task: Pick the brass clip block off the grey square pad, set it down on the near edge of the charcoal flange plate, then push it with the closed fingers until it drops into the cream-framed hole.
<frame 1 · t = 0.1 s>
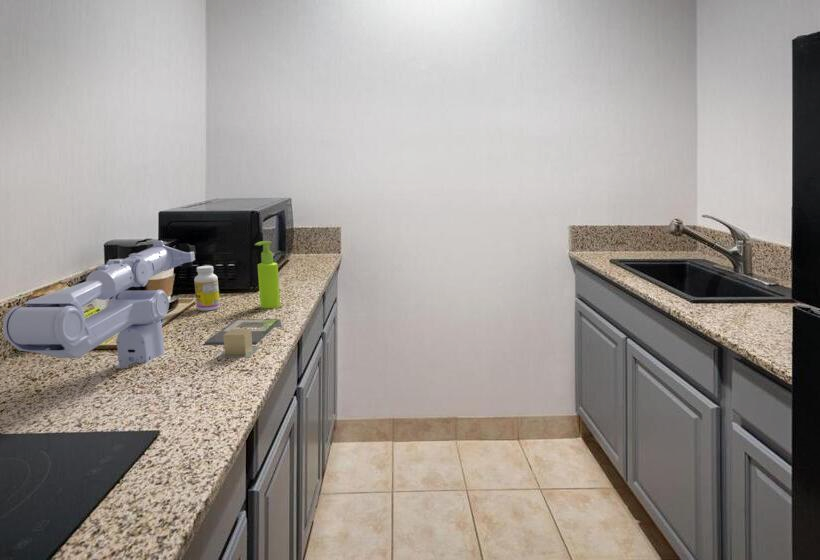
hand: (178, 250, 134), 22 cm above the countertop, tool horizontal, fingers open, 7 cm apart
supplement bottle: (208, 309, 166), on the countertop
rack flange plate: (246, 337, 135), on the countertop
soap dispenser: (269, 307, 167), on the countertop
grey square pad: (239, 358, 119), on the countertop
clip block: (239, 352, 119), point 1 cm above the countertop, touching grey square pad
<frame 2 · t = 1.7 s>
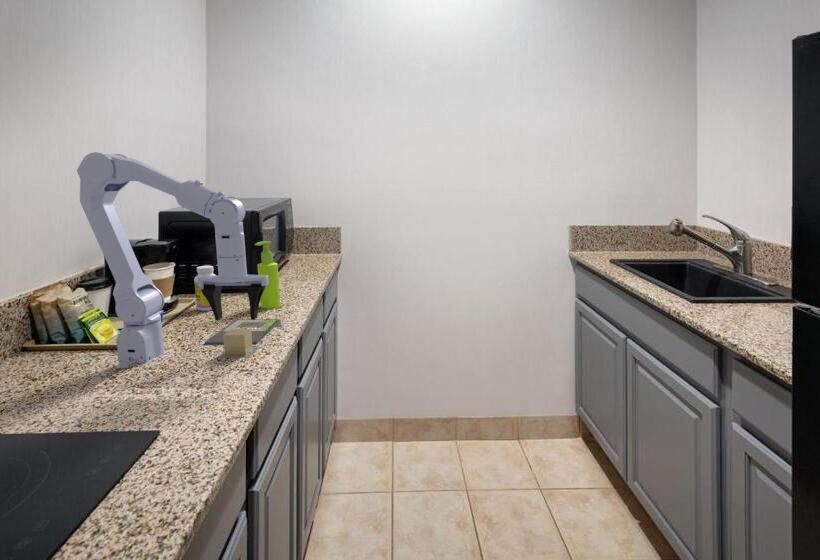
hand: (236, 318, 117), 9 cm above the countertop, tool pointing down, fingers open, 7 cm apart
nothing on the countertop moved.
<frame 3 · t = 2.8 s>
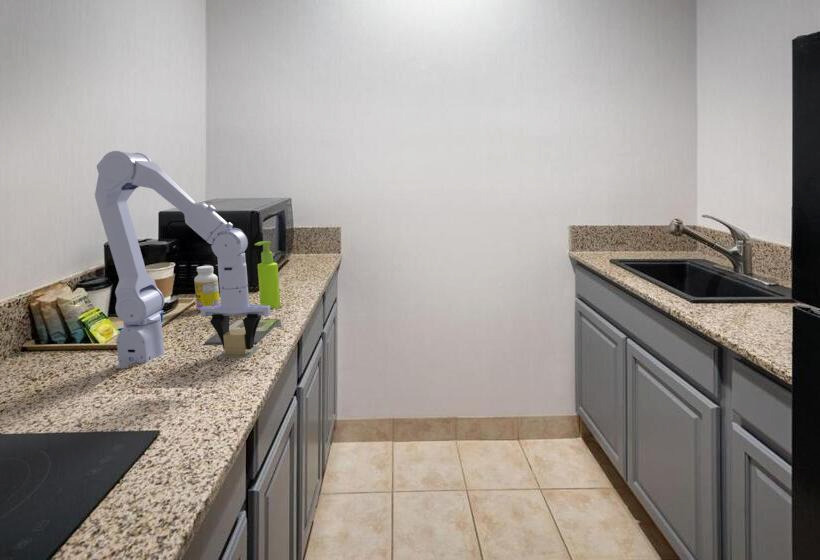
hand: (238, 348, 119), 2 cm above the countertop, tool pointing down, fingers closed on clip block, 4 cm apart
clip block: (239, 352, 119), point 1 cm above the countertop, touching gripper, grey square pad
everything else where it was.
when the fingers open (4 cm above the countertop, at t = 6.2 s): clip block moves 2 cm, resting on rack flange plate.
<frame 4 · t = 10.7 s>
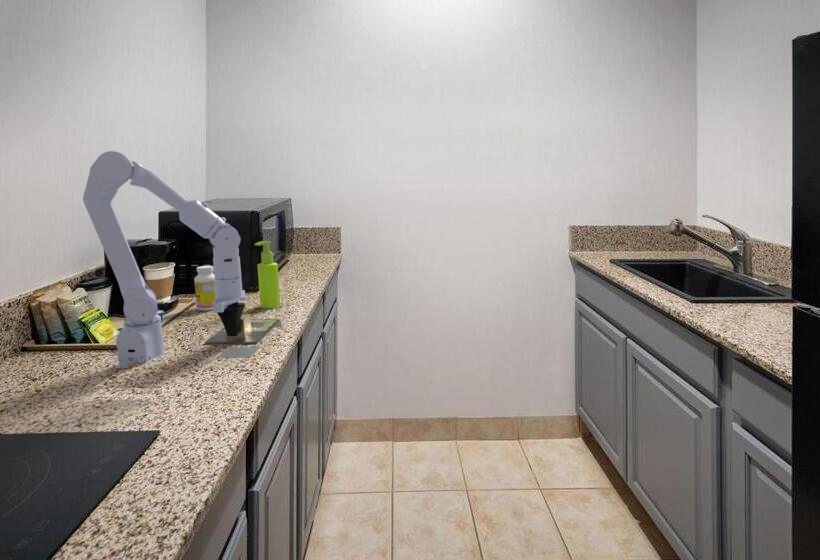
hand: (232, 335, 126), 3 cm above the countertop, tool pointing down, fingers closed
clip block: (238, 335, 130), point 2 cm above the countertop, touching gripper, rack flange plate
everything else where it was.
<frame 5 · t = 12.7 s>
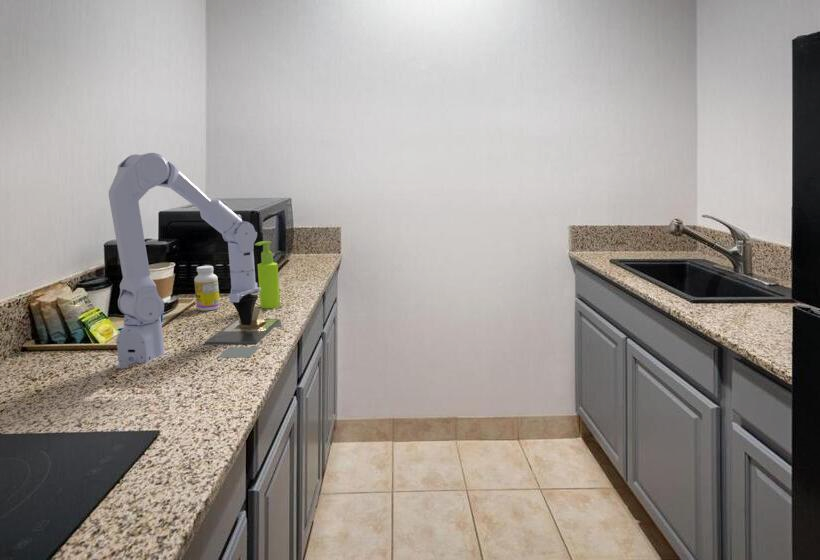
hand: (246, 324, 135), 3 cm above the countertop, tool pointing down, fingers closed, pressing on clip block
clip block: (249, 327, 137), point 2 cm above the countertop, tilted 61°, touching gripper, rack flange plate
everything else where it was.
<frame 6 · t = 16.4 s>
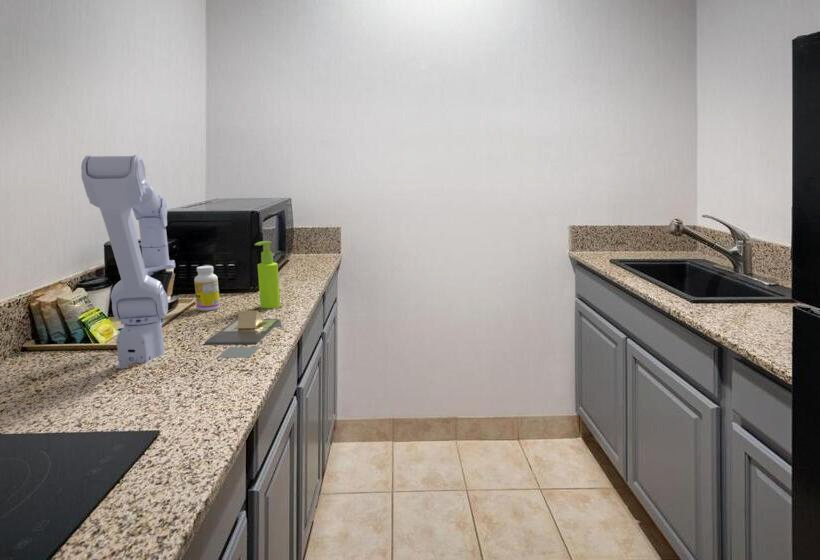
hand: (160, 302, 133), 9 cm above the countertop, tool pointing down, fingers closed
clip block: (249, 330, 137), point 1 cm above the countertop, tilted 32°, touching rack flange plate
everything else where it was.
at the end: clip block 1.9 cm from the target spot on the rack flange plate, point 1.1 cm above the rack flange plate's base; the gripper is holding nothing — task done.
